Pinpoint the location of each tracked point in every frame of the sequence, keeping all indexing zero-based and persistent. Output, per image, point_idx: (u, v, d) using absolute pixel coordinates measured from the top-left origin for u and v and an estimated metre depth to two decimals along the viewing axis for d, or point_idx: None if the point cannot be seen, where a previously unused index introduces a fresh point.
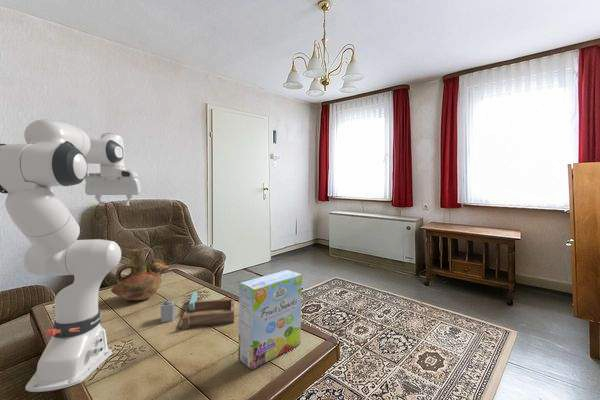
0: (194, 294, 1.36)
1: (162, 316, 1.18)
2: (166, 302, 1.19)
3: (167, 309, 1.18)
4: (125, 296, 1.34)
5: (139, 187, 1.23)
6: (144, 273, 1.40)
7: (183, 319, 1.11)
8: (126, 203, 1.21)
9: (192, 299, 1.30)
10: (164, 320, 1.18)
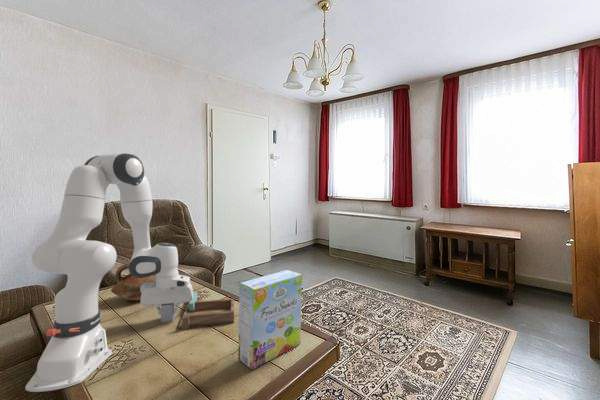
0: (194, 294, 1.36)
1: (162, 316, 1.18)
2: None
3: (166, 309, 1.18)
4: (125, 296, 1.34)
5: (192, 293, 1.22)
6: None
7: (183, 319, 1.11)
8: (175, 311, 1.20)
9: (192, 299, 1.30)
10: (164, 320, 1.18)
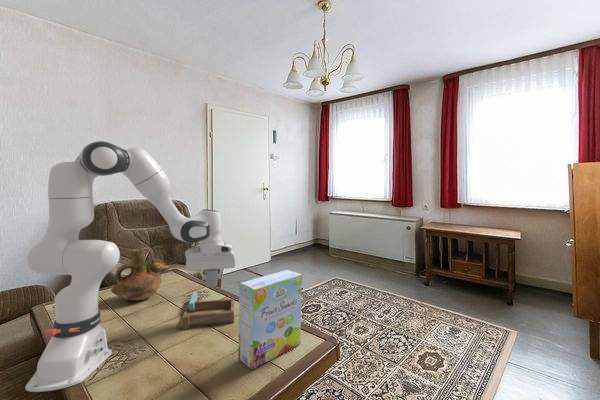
0: (194, 294, 1.36)
1: (207, 281, 1.19)
2: None
3: (211, 274, 1.19)
4: (125, 296, 1.34)
5: None
6: (144, 273, 1.40)
7: (183, 319, 1.11)
8: (219, 277, 1.21)
9: (192, 299, 1.30)
10: (208, 285, 1.19)
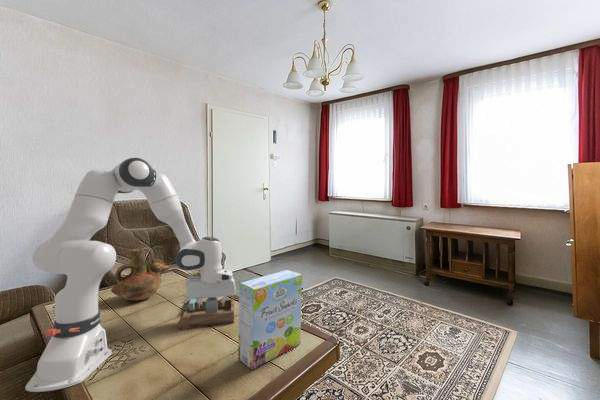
0: None
1: (207, 312, 1.20)
2: (210, 298, 1.21)
3: (211, 305, 1.20)
4: (125, 296, 1.34)
5: (235, 287, 1.24)
6: (144, 273, 1.40)
7: (183, 319, 1.11)
8: (223, 304, 1.22)
9: (192, 299, 1.30)
10: None
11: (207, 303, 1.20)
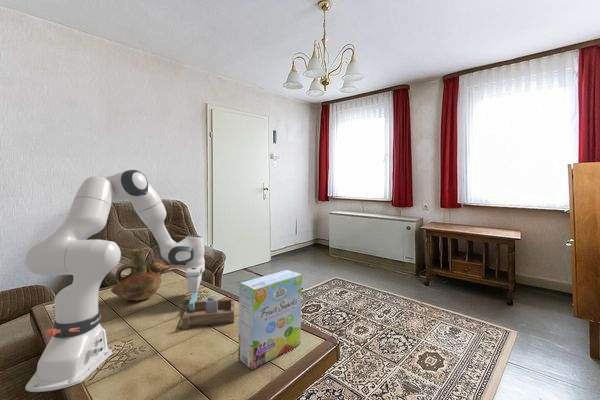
0: (194, 294, 1.36)
1: (207, 312, 1.20)
2: (210, 298, 1.21)
3: (211, 305, 1.20)
4: (125, 296, 1.34)
5: (193, 286, 1.31)
6: (144, 273, 1.40)
7: (183, 319, 1.11)
8: None
9: (192, 299, 1.30)
10: None
11: (207, 303, 1.20)
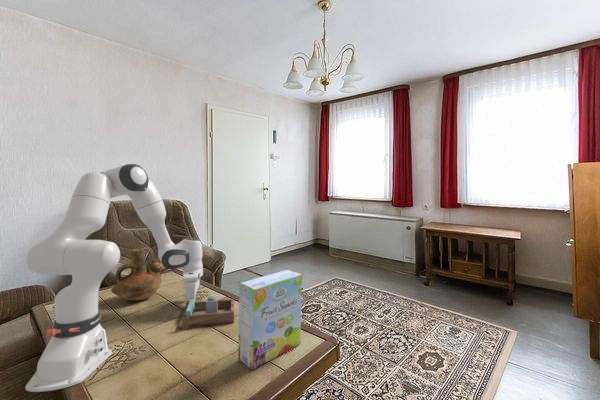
0: (191, 300, 1.29)
1: (207, 312, 1.20)
2: (210, 298, 1.21)
3: (211, 305, 1.20)
4: (125, 296, 1.34)
5: (190, 292, 1.24)
6: (144, 273, 1.40)
7: (183, 319, 1.11)
8: None
9: (189, 306, 1.23)
10: None
11: (207, 303, 1.20)
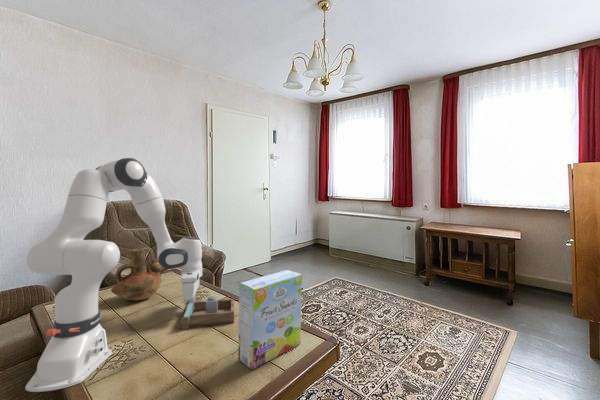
0: (190, 305, 1.23)
1: (207, 312, 1.20)
2: (210, 298, 1.21)
3: (211, 305, 1.20)
4: (125, 296, 1.34)
5: (188, 293, 1.18)
6: (144, 273, 1.40)
7: (183, 319, 1.11)
8: None
9: (187, 311, 1.17)
10: None
11: (207, 303, 1.20)
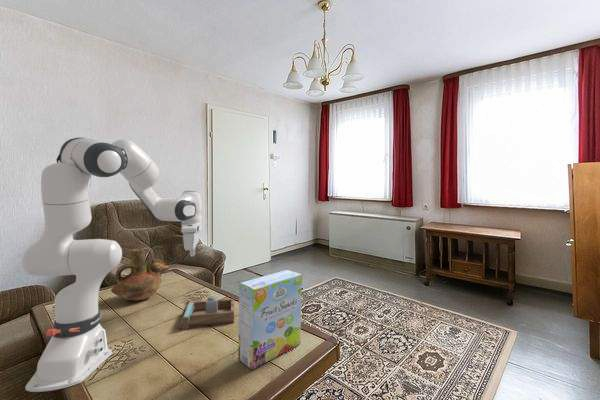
0: (190, 305, 1.23)
1: (207, 312, 1.20)
2: (210, 298, 1.21)
3: (211, 305, 1.20)
4: (125, 296, 1.34)
5: (189, 243, 1.22)
6: (144, 273, 1.40)
7: (183, 319, 1.11)
8: None
9: (187, 311, 1.17)
10: None
11: (207, 303, 1.20)
